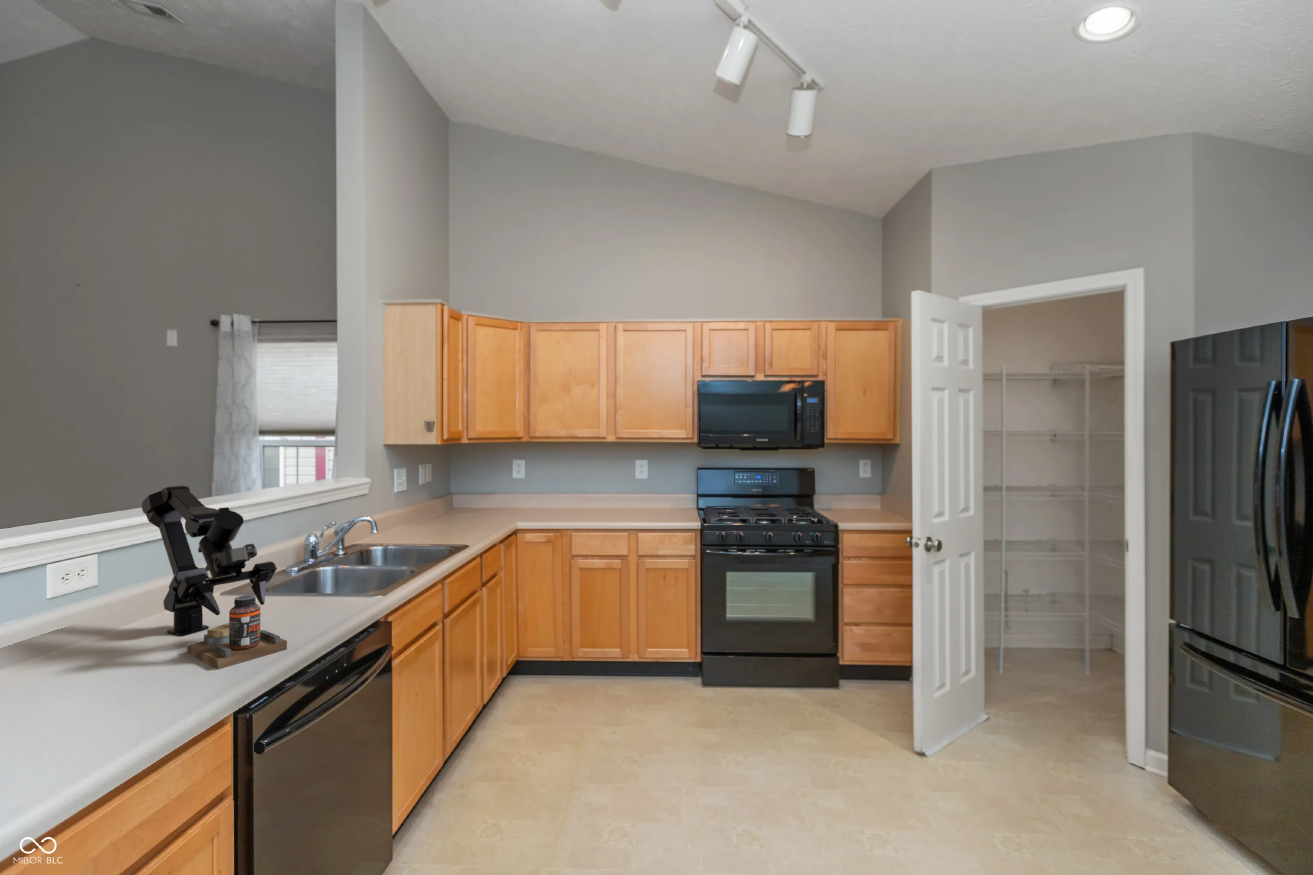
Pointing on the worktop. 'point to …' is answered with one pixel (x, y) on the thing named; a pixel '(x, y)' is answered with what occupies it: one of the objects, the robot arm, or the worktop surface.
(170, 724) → the worktop surface
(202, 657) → the shelf board
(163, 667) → the worktop surface
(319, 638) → the worktop surface
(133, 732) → the worktop surface
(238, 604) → the supplement bottle
